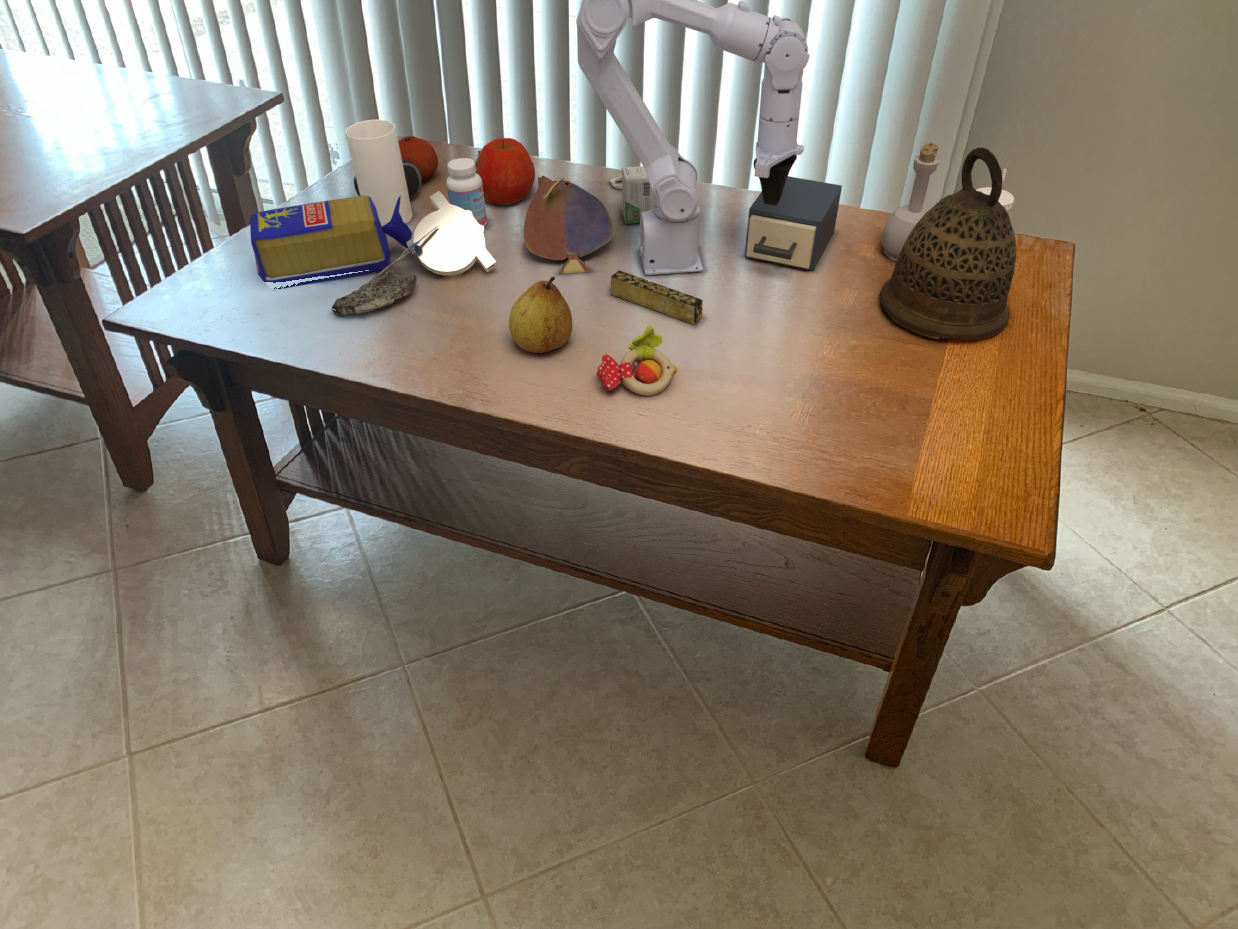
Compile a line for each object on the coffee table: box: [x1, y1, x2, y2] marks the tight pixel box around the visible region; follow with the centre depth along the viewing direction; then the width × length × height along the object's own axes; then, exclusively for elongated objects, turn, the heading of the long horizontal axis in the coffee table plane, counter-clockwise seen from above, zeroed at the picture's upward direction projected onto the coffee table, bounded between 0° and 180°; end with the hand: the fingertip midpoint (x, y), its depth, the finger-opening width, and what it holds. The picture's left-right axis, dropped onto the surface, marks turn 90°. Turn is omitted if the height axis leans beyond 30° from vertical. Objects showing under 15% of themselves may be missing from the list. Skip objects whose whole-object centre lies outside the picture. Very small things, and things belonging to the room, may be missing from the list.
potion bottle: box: [880, 142, 940, 262], centre depth 136 cm, size 9×9×18 cm
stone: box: [331, 271, 417, 316], centre depth 133 cm, size 14×8×3 cm, turn 144°
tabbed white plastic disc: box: [412, 190, 497, 277], centre depth 139 cm, size 15×8×11 cm
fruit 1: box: [398, 135, 439, 182], centre depth 163 cm, size 9×9×8 cm
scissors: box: [375, 226, 438, 278], centre depth 137 cm, size 14×8×1 cm
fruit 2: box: [508, 276, 573, 354], centre depth 121 cm, size 9×9×12 cm
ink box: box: [621, 165, 657, 225], centre depth 150 cm, size 8×5×12 cm
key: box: [609, 175, 622, 190], centre depth 161 cm, size 12×1×4 cm
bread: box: [249, 195, 414, 290], centre depth 138 cm, size 10×25×10 cm, turn 108°
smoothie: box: [975, 168, 1015, 213], centre depth 137 cm, size 6×6×14 cm
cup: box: [345, 119, 414, 226], centre depth 149 cm, size 8×8×16 cm
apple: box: [476, 137, 536, 206], centre depth 155 cm, size 11×11×11 cm
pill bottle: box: [445, 157, 488, 228], centre depth 148 cm, size 6×6×11 cm
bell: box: [879, 146, 1017, 341], centre depth 122 cm, size 19×26×20 cm
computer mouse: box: [353, 160, 423, 198], centre depth 156 cm, size 7×12×4 cm
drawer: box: [746, 215, 816, 269], centre depth 139 cm, size 17×10×7 cm, turn 156°
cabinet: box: [744, 175, 843, 272], centre depth 142 cm, size 14×12×9 cm
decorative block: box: [610, 270, 704, 325], centre depth 130 cm, size 15×2×4 cm, turn 55°
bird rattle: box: [595, 325, 678, 396], centre depth 116 cm, size 6×11×9 cm
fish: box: [523, 175, 615, 275], centre depth 142 cm, size 20×12×15 cm
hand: (771, 202), depth 134 cm, fingers closed
